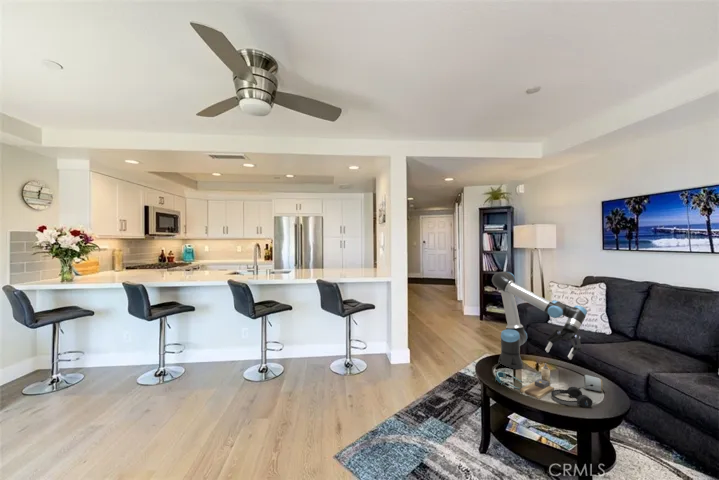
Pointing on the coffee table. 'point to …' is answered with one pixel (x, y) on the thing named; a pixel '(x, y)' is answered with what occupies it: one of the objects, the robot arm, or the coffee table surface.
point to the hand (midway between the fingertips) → (557, 354)
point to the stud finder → (541, 383)
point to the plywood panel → (536, 390)
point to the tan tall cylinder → (545, 373)
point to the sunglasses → (500, 374)
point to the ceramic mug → (595, 381)
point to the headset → (574, 393)
